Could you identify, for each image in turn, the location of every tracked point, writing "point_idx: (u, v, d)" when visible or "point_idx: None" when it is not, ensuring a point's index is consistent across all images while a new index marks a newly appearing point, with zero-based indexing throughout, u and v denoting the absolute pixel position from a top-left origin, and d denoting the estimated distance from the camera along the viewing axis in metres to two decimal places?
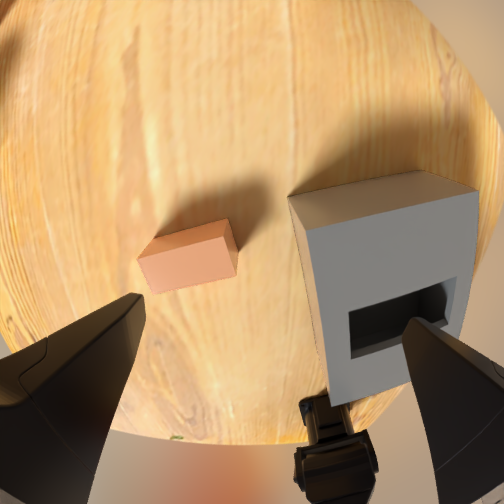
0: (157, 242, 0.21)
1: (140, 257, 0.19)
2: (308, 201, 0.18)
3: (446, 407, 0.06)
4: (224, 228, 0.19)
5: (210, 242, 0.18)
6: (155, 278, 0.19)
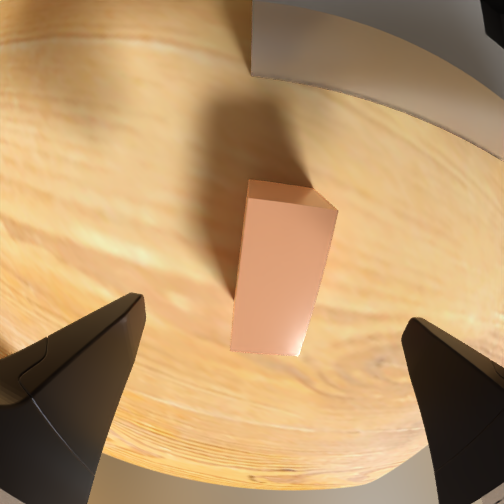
0: (234, 301, 0.13)
1: None
2: None
3: (446, 407, 0.06)
4: (248, 190, 0.10)
5: (250, 226, 0.09)
6: (275, 340, 0.11)
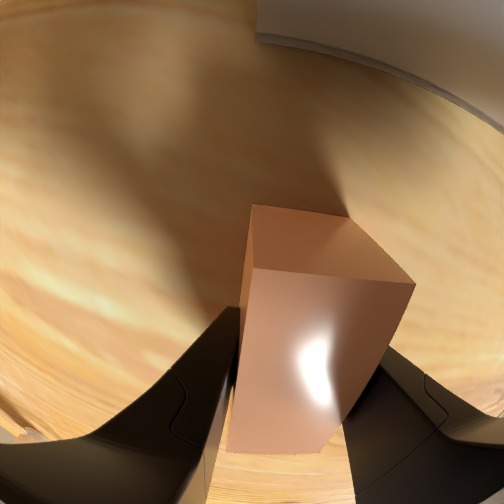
0: None
1: (226, 444, 0.07)
2: None
3: (364, 424, 0.05)
4: (252, 235, 0.06)
5: (257, 317, 0.05)
6: (289, 444, 0.07)
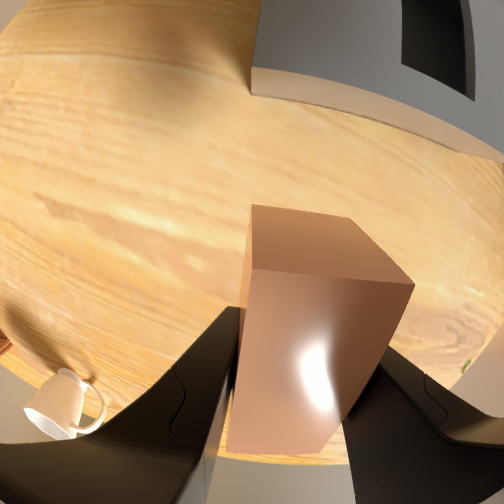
0: None
1: (226, 444, 0.07)
2: None
3: (364, 424, 0.05)
4: (251, 236, 0.06)
5: (256, 318, 0.05)
6: (288, 444, 0.07)
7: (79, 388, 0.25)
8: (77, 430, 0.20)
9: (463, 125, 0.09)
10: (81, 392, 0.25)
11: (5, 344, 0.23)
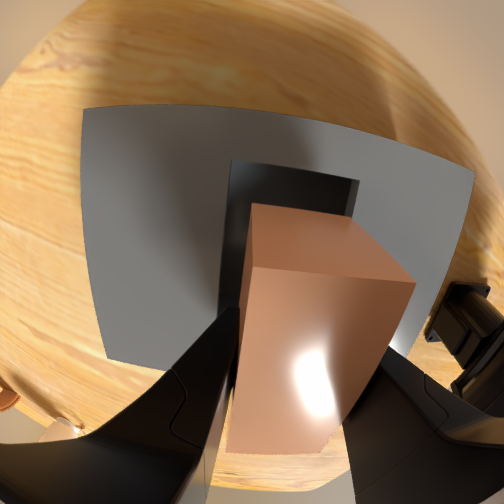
0: None
1: (226, 444, 0.07)
2: None
3: (364, 424, 0.05)
4: (252, 234, 0.06)
5: (256, 317, 0.05)
6: (289, 444, 0.07)
7: (73, 432, 0.29)
8: None
9: None
10: (75, 435, 0.29)
11: (14, 397, 0.28)
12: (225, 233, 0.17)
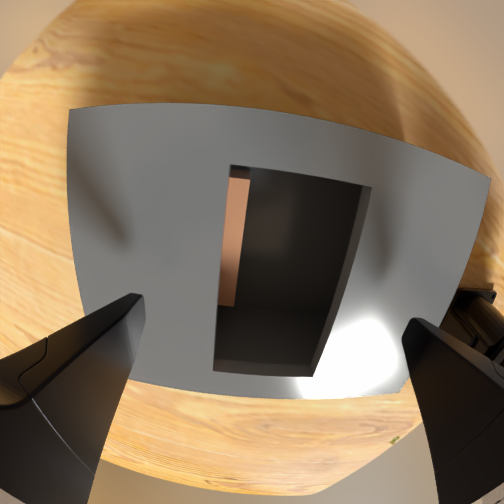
0: None
1: None
2: None
3: (446, 407, 0.06)
4: None
5: None
6: None
7: None
8: None
9: (290, 396, 0.12)
10: None
11: None
12: None
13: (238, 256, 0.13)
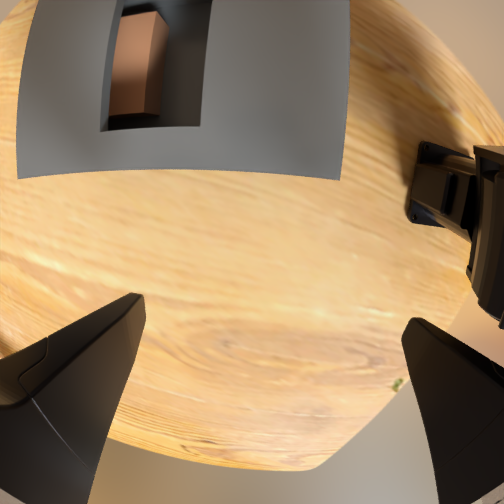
0: None
1: None
2: None
3: (446, 407, 0.06)
4: None
5: None
6: None
7: None
8: None
9: (181, 163, 0.10)
10: None
11: None
12: None
13: (146, 64, 0.12)
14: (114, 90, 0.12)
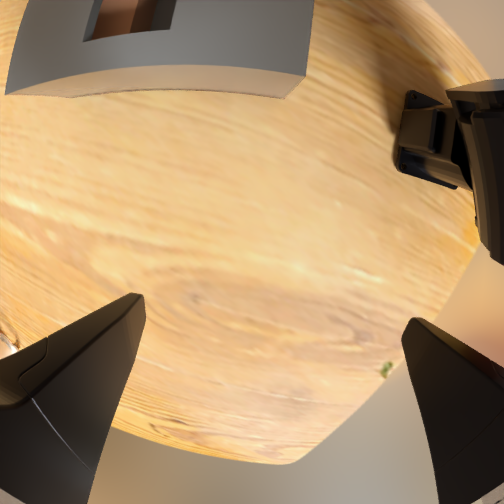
0: None
1: None
2: None
3: (446, 407, 0.06)
4: None
5: None
6: None
7: (8, 350, 0.25)
8: None
9: (148, 60, 0.09)
10: (9, 354, 0.25)
11: None
12: None
13: (136, 2, 0.10)
14: (105, 24, 0.10)
